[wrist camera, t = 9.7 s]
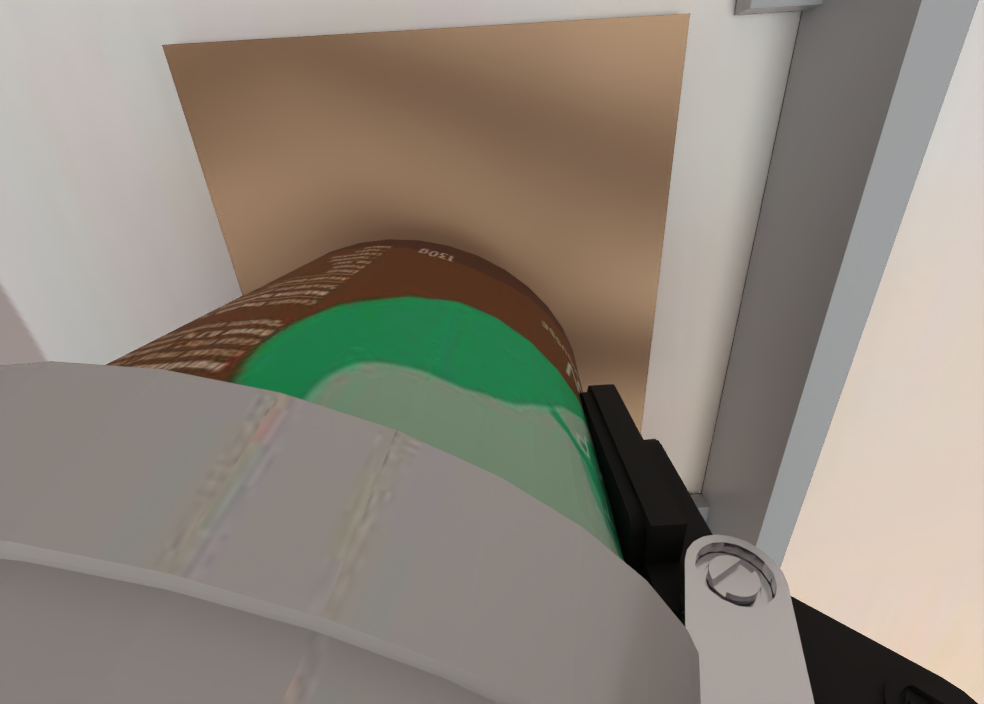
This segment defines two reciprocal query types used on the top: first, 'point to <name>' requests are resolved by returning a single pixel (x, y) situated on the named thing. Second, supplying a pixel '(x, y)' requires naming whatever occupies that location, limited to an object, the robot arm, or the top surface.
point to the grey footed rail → (822, 242)
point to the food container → (326, 507)
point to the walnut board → (457, 159)
